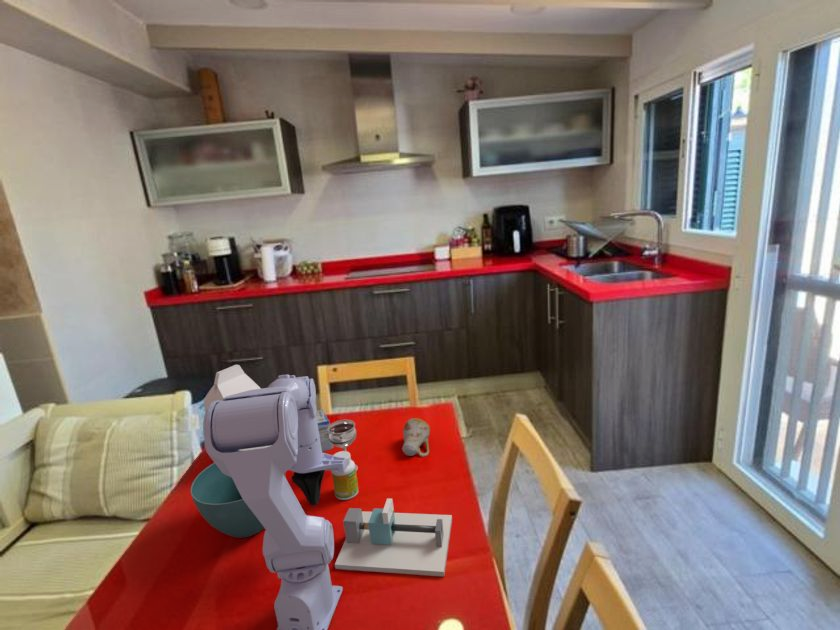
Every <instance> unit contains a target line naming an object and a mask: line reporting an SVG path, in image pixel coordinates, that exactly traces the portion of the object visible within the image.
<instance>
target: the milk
mask: <svg viewBox="0 0 840 630" xmlns="http://www.w3.org/2000/svg"><path fill="white" fill-rule="evenodd" d="M254 389H262V388H261V387H260V386H259V385H258V384H257V383H256V381H254V380H253V379H252V378H251V377H250V376H248V374H247V373H245V371H244V370H243V368H242V367H241V365H240V364H234V365H232V366H229V367H227V368H224V369H222V370H220V371H216V373H215V377H214V383H213V385H212V387H211V388H210V389H209V391H208V392H207V394H206V395H205V397H204V400H203V406H204V407H203V408H204V411H205V412H206V410H207V409H208V407H209V405H210V404H211V403H212V402H213V401H216V400H220V401H223V398H225V397H226V396H230V395H234V394H237V393H241V392H245V391H249V390H254ZM205 412H204V413H205ZM270 446H272V445H270ZM270 446H263V447H255V448H248V449H241V450H240V451H246V450H253V449H260V448H267V447H270Z"/></svg>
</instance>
